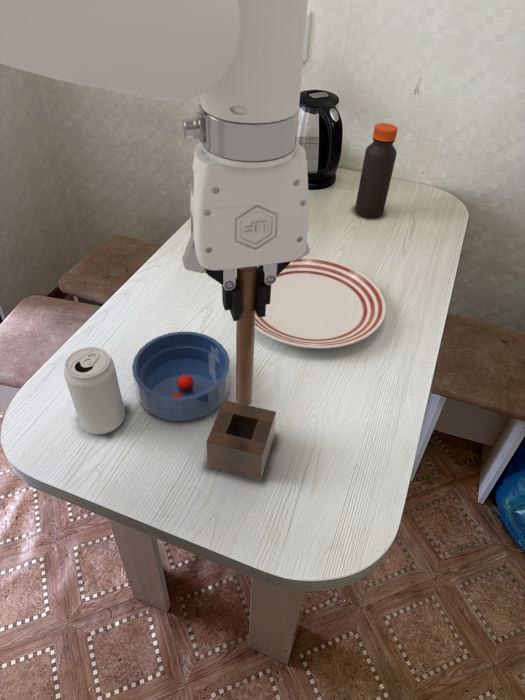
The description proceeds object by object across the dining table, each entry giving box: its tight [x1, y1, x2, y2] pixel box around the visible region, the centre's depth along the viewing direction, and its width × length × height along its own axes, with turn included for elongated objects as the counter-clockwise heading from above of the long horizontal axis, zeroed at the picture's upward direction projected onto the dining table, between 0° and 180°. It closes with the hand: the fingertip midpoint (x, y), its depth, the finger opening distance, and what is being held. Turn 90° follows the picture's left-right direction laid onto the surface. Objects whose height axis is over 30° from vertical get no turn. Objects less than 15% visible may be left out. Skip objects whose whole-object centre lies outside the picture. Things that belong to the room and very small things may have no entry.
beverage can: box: [63, 346, 126, 435], centre depth 69 cm, size 6×6×12 cm
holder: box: [206, 399, 277, 482], centre depth 68 cm, size 7×7×6 cm
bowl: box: [131, 331, 231, 422], centre depth 77 cm, size 14×14×6 cm
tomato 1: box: [171, 393, 184, 397], centre depth 74 cm, size 2×2×2 cm
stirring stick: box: [235, 266, 257, 406], centre depth 56 cm, size 2×2×20 cm
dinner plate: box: [255, 256, 387, 350], centre depth 93 cm, size 27×27×3 cm
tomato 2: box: [177, 375, 193, 391], centre depth 77 cm, size 2×2×2 cm
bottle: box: [354, 122, 399, 219], centre depth 115 cm, size 7×7×20 cm
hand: (246, 309), depth 53 cm, fingers closed on stirring stick, 2 cm apart
